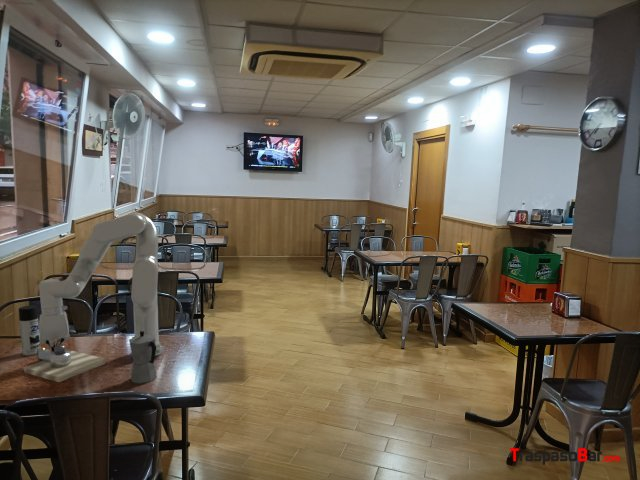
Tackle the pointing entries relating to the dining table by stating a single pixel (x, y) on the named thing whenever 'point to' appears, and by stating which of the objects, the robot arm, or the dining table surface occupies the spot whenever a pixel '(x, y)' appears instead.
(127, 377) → the dining table surface
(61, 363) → the crank
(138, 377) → the coffeepot
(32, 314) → the spray can
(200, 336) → the dining table surface
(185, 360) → the dining table surface
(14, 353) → the dining table surface
